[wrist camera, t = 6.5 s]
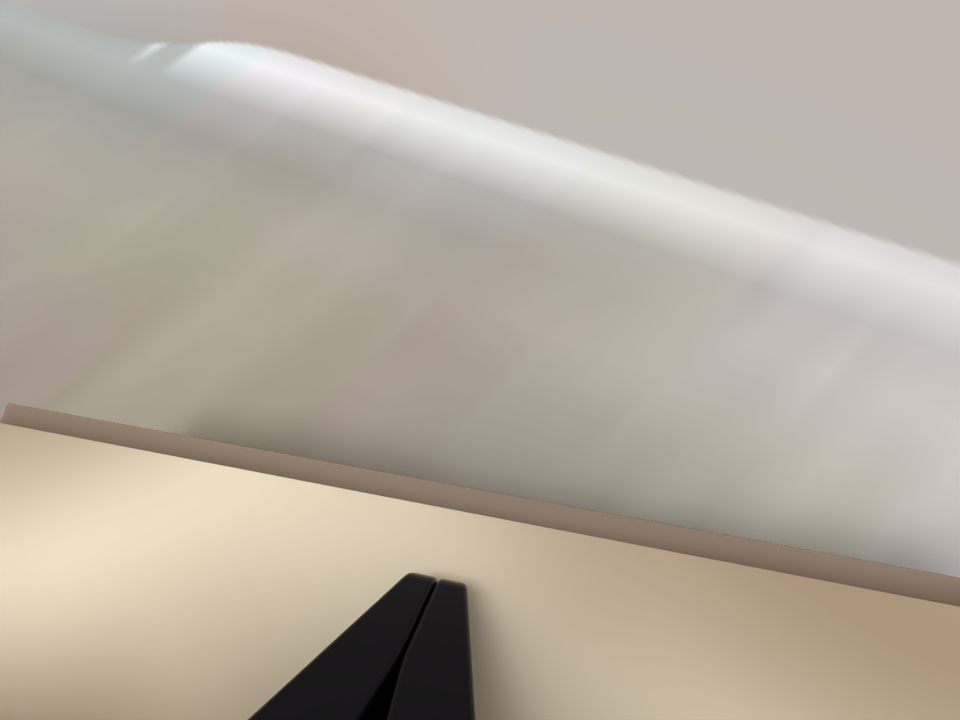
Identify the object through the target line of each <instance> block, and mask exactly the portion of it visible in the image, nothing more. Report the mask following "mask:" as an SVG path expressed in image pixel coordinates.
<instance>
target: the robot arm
mask: <svg viewBox="0 0 960 720" xmlns="http://www.w3.org/2000/svg"><path fill="white" fill-rule="evenodd" d="M248 720H476V717H475V701H474V686H473V670H472V654H471V638H470V623H469V607H468V592H467V586H466V585H465V584H464V583H461V582H456V581H452V580H447V579H440V580H439V581H438V582H437V579H436V578H435V577H433V576H428V575H424V574H419V573H412V572H411V573H408V574H406V575H405V576H404V577H403V578H402V579H400V580H399V581H398V582H397V583H396V584H395V585H394V586H393V587H392V588H391V589H390V590H388V591H387V592H386V593H385V594H384V595H383V596H382V597H381V598H380V599H379V600H378V601H376V602H375V603H374V604H373V605H372V606H371V607H370V608H369V609H368V610H367V611H366V612H364V613H363V614H362V615H361V616H360V617H359V618H358V619H357V620H356V621H355V622H354V623H352V624H351V625H350V626H349V627H348V628H347V629H346V630H345V631H344V632H343V633H342V634H340V635H339V636H338V637H337V638H336V639H335V640H334V641H333V642H332V643H331V644H330V645H328V646H327V647H326V648H325V649H324V650H323V651H322V652H321V653H320V654H319V655H318V656H316V657H315V658H314V659H313V660H312V661H311V662H310V663H309V664H308V665H307V666H306V667H304V668H303V669H302V670H301V671H300V672H299V673H298V674H297V675H296V676H295V677H294V678H292V679H291V680H290V681H289V682H288V683H287V684H286V685H285V686H284V687H283V688H282V689H280V690H279V691H278V692H277V693H276V694H275V695H274V696H273V697H272V698H271V699H270V700H268V701H267V702H266V703H265V704H264V705H263V706H262V707H261V708H260V709H259V710H258V711H256V712H255V713H254V714H253V715H252V716H251V717H250V718H249V719H248Z"/></svg>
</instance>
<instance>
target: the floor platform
mask: <svg viewBox="0 0 960 720" xmlns="http://www.w3.org/2000/svg"><path fill="white" fill-rule="evenodd" d="M0 423H3V424H8V425H13V426H18V427H24V428H29V429H34V430H39V431H45V432H50V433H55V434H60V435H65V436H71V437H76V438H81V439H86V440H92V441H97V442H102V443H107V444H112V445H118V446H123V447H128V448H133V449H139V450H144V451H149V452H154V453H159V454H165V455H170V456H175V457H180V458H186V459H191V460H196V461H201V462H206V463H212V464H217V465H222V466H227V467H233V468H238V469H243V470H248V471H253V472H259V473H264V474H269V475H274V476H280V477H285V478H290V479H295V480H300V481H306V482H311V483H316V484H321V485H327V486H332V487H337V488H342V489H347V490H353V491H358V492H363V493H368V494H374V495H379V496H384V497H389V498H394V499H400V500H405V501H410V502H415V503H420V504H426V505H431V506H436V507H441V508H447V509H452V510H457V511H462V512H467V513H473V514H478V515H483V516H488V517H494V518H499V519H504V520H509V521H514V522H520V523H525V524H530V525H535V526H541V527H546V528H551V529H556V530H561V531H567V532H572V533H577V534H582V535H588V536H593V537H598V538H603V539H608V540H614V541H619V542H624V543H629V544H635V545H640V546H645V547H650V548H655V549H661V550H666V551H671V552H676V553H682V554H687V555H692V556H697V557H702V558H708V559H713V560H718V561H723V562H729V563H734V564H739V565H744V566H749V567H755V568H760V569H765V570H770V571H775V572H781V573H786V574H791V575H796V576H802V577H807V578H812V579H817V580H822V581H828V582H833V583H838V584H843V585H849V586H854V587H859V588H864V589H869V590H875V591H880V592H885V593H890V594H896V595H901V596H906V597H911V598H916V599H922V600H927V601H932V602H937V603H943V604H948V605H953V606H958V607H960V578H957V577H952V576H947V575H941V574H936V573H930V572H925V571H919V570H914V569H908V568H903V567H898V566H892V565H887V564H881V563H876V562H870V561H865V560H859V559H854V558H849V557H843V556H838V555H832V554H827V553H821V552H816V551H810V550H805V549H800V548H794V547H789V546H783V545H778V544H772V543H767V542H761V541H756V540H751V539H745V538H740V537H734V536H729V535H723V534H718V533H712V532H707V531H702V530H696V529H691V528H685V527H680V526H674V525H669V524H663V523H658V522H653V521H647V520H642V519H636V518H631V517H625V516H620V515H614V514H609V513H604V512H598V511H593V510H587V509H582V508H576V507H571V506H565V505H560V504H555V503H549V502H544V501H538V500H533V499H527V498H522V497H516V496H511V495H506V494H500V493H495V492H489V491H484V490H478V489H473V488H467V487H462V486H457V485H451V484H446V483H440V482H435V481H429V480H424V479H418V478H413V477H408V476H402V475H397V474H391V473H386V472H380V471H375V470H369V469H364V468H359V467H353V466H348V465H342V464H337V463H331V462H326V461H320V460H315V459H310V458H304V457H299V456H293V455H288V454H282V453H277V452H271V451H266V450H261V449H255V448H250V447H244V446H239V445H233V444H228V443H222V442H217V441H212V440H206V439H201V438H195V437H190V436H184V435H179V434H174V433H168V432H163V431H157V430H152V429H146V428H141V427H135V426H130V425H125V424H119V423H114V422H108V421H103V420H97V419H92V418H86V417H81V416H76V415H70V414H65V413H59V412H54V411H48V410H43V409H37V408H32V407H27V406H21V405H16V404H10V403H8V405H7V408H6V410H5V412H4V414H3V417H2V419H1V421H0Z"/></svg>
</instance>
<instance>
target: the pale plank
mask: <svg viewBox="0 0 960 720" xmlns="http://www.w3.org/2000/svg"><path fill="white" fill-rule="evenodd" d="M411 572H412V573H419V574H424V575H428V576H433V577H435V578H436V579H437V582H438V581H439V580H440V579H447V580H452V581H456V582H461V583H464V584H465V585H466V586H467V592H468V607H469V623H470V638H471V654H472V670H473V686H474V701H475V717H476V720H960V607H958V606H953V605H948V604H943V603H937V602H932V601H927V600H922V599H916V598H911V597H906V596H901V595H896V594H890V593H885V592H880V591H875V590H869V589H864V588H859V587H854V586H849V585H843V584H838V583H833V582H828V581H822V580H817V579H812V578H807V577H802V576H796V575H791V574H786V573H781V572H775V571H770V570H765V569H760V568H755V567H749V566H744V565H739V564H734V563H729V562H723V561H718V560H713V559H708V558H702V557H697V556H692V555H687V554H682V553H676V552H671V551H666V550H661V549H655V548H650V547H645V546H640V545H635V544H629V543H624V542H619V541H614V540H608V539H603V538H598V537H593V536H588V535H582V534H577V533H572V532H567V531H561V530H556V529H551V528H546V527H541V526H535V525H530V524H525V523H520V522H514V521H509V520H504V519H499V518H494V517H488V516H483V515H478V514H473V513H467V512H462V511H457V510H452V509H447V508H441V507H436V506H431V505H426V504H420V503H415V502H410V501H405V500H400V499H394V498H389V497H384V496H379V495H374V494H368V493H363V492H358V491H353V490H347V489H342V488H337V487H332V486H327V485H321V484H316V483H311V482H306V481H300V480H295V479H290V478H285V477H280V476H274V475H269V474H264V473H259V472H253V471H248V470H243V469H238V468H233V467H227V466H222V465H217V464H212V463H206V462H201V461H196V460H191V459H186V458H180V457H175V456H170V455H165V454H159V453H154V452H149V451H144V450H139V449H133V448H128V447H123V446H118V445H112V444H107V443H102V442H97V441H92V440H86V439H81V438H76V437H71V436H65V435H60V434H55V433H50V432H45V431H39V430H34V429H29V428H24V427H18V426H13V425H8V424H3V423H0V720H248V719H249V718H250V717H251V716H252V715H253V714H254V713H255V712H256V711H258V710H259V709H260V708H261V707H262V706H263V705H264V704H265V703H266V702H267V701H268V700H270V699H271V698H272V697H273V696H274V695H275V694H276V693H277V692H278V691H279V690H280V689H282V688H283V687H284V686H285V685H286V684H287V683H288V682H289V681H290V680H291V679H292V678H294V677H295V676H296V675H297V674H298V673H299V672H300V671H301V670H302V669H303V668H304V667H306V666H307V665H308V664H309V663H310V662H311V661H312V660H313V659H314V658H315V657H316V656H318V655H319V654H320V653H321V652H322V651H323V650H324V649H325V648H326V647H327V646H328V645H330V644H331V643H332V642H333V641H334V640H335V639H336V638H337V637H338V636H339V635H340V634H342V633H343V632H344V631H345V630H346V629H347V628H348V627H349V626H350V625H351V624H352V623H354V622H355V621H356V620H357V619H358V618H359V617H360V616H361V615H362V614H363V613H364V612H366V611H367V610H368V609H369V608H370V607H371V606H372V605H373V604H374V603H375V602H376V601H378V600H379V599H380V598H381V597H382V596H383V595H384V594H385V593H386V592H387V591H388V590H390V589H391V588H392V587H393V586H394V585H395V584H396V583H397V582H398V581H399V580H400V579H402V578H403V577H404V576H405V575H406V574H408V573H411Z"/></svg>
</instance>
